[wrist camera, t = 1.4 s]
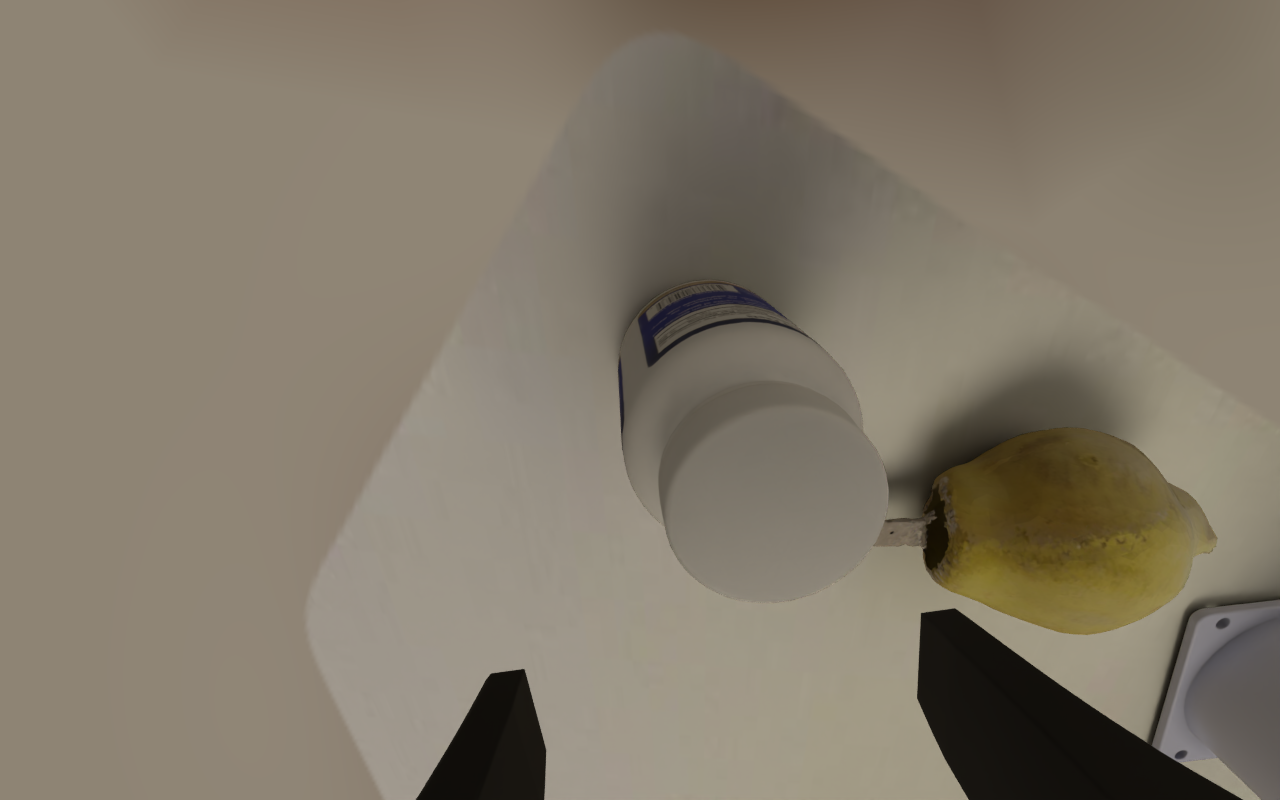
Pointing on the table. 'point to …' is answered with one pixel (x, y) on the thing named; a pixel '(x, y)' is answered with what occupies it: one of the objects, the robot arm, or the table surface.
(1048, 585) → the fruit
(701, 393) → the pill bottle
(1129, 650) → the table surface
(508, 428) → the table surface
